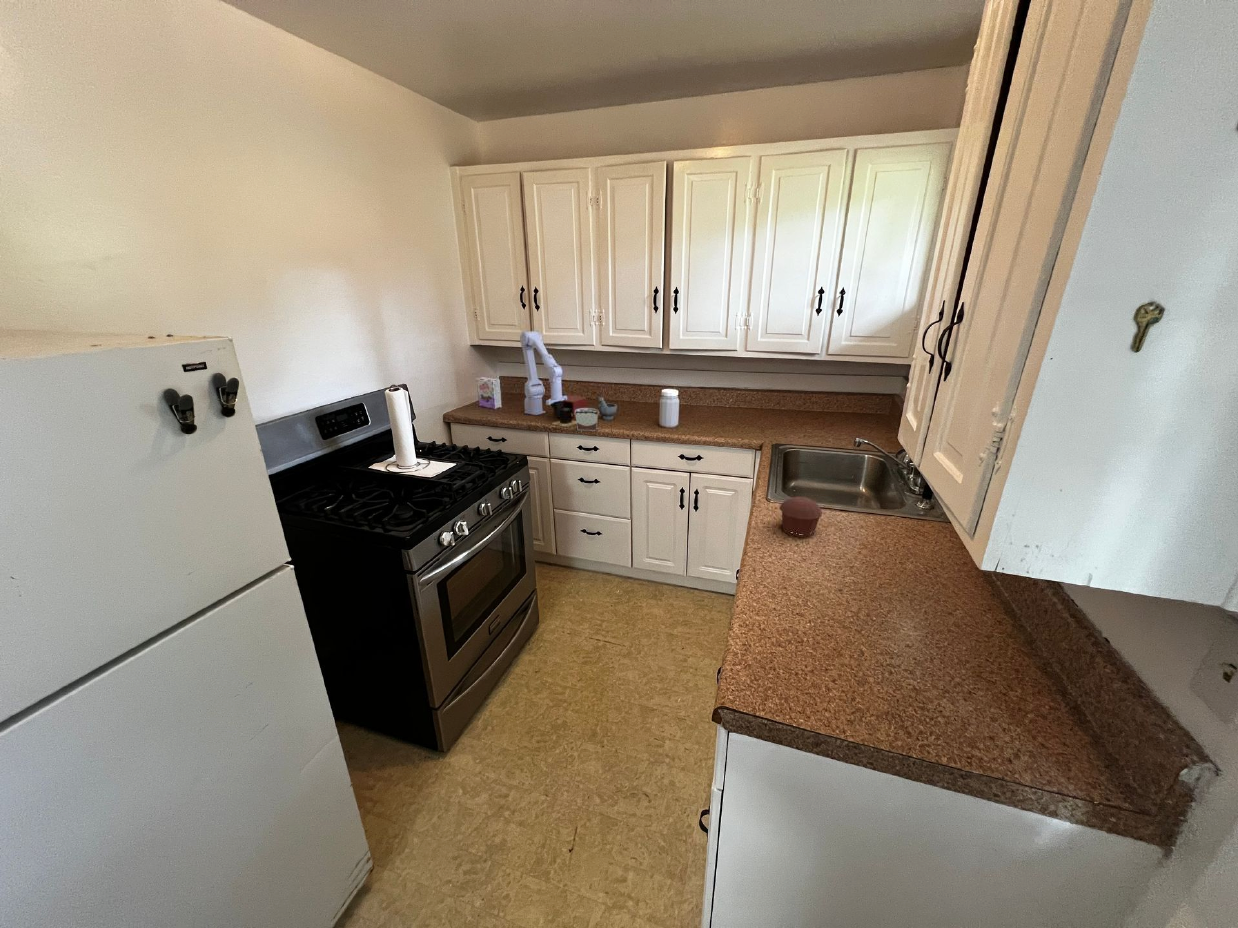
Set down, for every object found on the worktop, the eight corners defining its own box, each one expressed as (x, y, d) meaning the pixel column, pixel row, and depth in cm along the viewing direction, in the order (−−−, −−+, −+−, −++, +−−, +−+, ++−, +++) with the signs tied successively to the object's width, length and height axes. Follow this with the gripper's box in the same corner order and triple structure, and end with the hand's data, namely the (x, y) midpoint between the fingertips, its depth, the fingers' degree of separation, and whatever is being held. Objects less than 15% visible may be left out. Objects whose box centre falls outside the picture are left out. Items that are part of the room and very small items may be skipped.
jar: (675, 422, 249) (676, 388, 242) (680, 427, 240) (682, 392, 233) (656, 423, 247) (657, 388, 241) (661, 428, 238) (662, 393, 232)
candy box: (478, 406, 281) (475, 378, 275) (486, 404, 285) (483, 376, 279) (494, 409, 273) (491, 380, 267) (502, 407, 278) (499, 379, 272)
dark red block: (558, 415, 261) (557, 399, 258) (571, 410, 271) (571, 395, 268) (574, 418, 256) (573, 401, 253) (587, 413, 265) (587, 397, 262)
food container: (601, 427, 241) (600, 407, 237) (599, 430, 235) (599, 411, 231) (576, 426, 242) (576, 407, 238) (574, 430, 236) (574, 410, 232)
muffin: (815, 523, 146) (820, 493, 142) (821, 541, 135) (827, 510, 132) (775, 519, 148) (779, 490, 144) (778, 537, 138) (782, 505, 134)
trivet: (552, 424, 245) (552, 423, 245) (564, 419, 253) (564, 418, 253) (567, 427, 240) (567, 426, 240) (579, 422, 248) (579, 421, 248)
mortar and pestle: (607, 414, 263) (607, 393, 259) (620, 417, 257) (620, 395, 253) (593, 418, 255) (592, 396, 251) (606, 422, 249) (605, 399, 245)
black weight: (559, 422, 246) (559, 409, 243) (565, 420, 249) (564, 407, 247) (566, 424, 244) (565, 410, 241) (571, 422, 247) (571, 408, 245)
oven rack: (552, 416, 256) (551, 411, 255) (567, 411, 266) (567, 406, 265) (564, 419, 251) (564, 413, 250) (579, 413, 261) (579, 408, 260)
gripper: (552, 393, 240) (554, 419, 245) (571, 388, 251) (571, 413, 256) (542, 391, 243) (543, 417, 248) (560, 386, 255) (561, 411, 259)
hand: (557, 415), depth 252 cm, fingers closed
